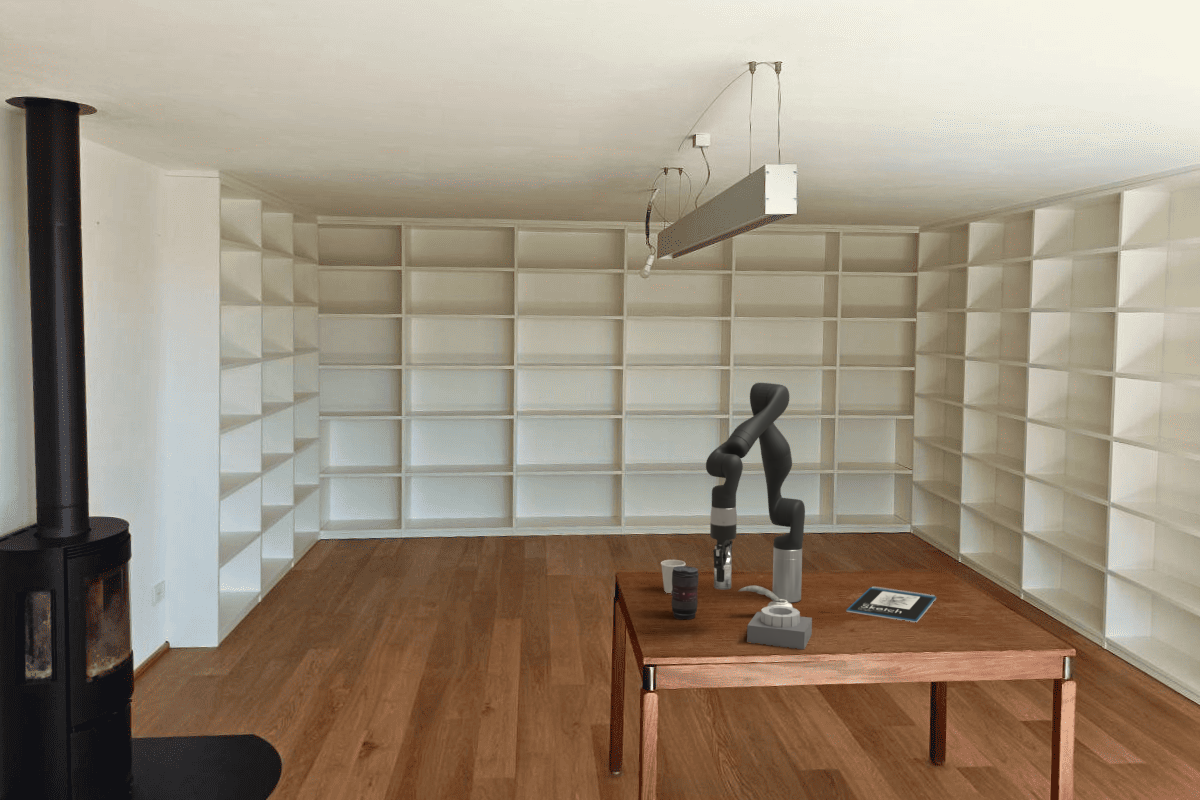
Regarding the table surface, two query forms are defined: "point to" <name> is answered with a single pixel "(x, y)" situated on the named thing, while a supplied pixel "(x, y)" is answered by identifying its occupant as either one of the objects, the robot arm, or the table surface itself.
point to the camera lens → (684, 592)
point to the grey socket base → (780, 627)
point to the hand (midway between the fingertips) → (722, 578)
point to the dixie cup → (669, 572)
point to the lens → (727, 577)
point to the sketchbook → (892, 604)
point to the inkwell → (769, 594)
